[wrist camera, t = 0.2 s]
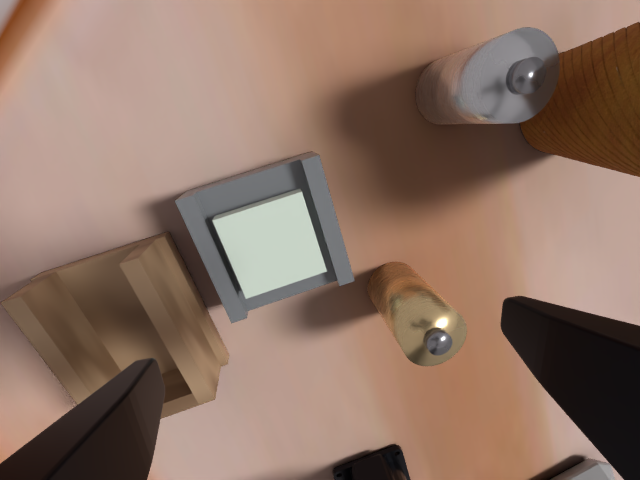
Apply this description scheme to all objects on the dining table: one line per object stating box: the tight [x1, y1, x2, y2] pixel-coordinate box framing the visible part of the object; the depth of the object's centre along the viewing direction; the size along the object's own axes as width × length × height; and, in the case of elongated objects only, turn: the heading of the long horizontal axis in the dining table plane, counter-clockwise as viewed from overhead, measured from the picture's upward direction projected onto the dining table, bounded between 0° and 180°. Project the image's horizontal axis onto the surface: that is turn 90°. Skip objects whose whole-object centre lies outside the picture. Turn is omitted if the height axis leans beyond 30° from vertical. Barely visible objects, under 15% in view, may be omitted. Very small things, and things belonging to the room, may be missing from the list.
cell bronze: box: [368, 262, 467, 366], centre depth 21 cm, size 4×4×7 cm
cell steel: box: [415, 27, 560, 124], centre depth 17 cm, size 4×4×7 cm
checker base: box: [175, 152, 355, 323], centre depth 20 cm, size 8×8×3 cm
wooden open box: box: [1, 232, 229, 419], centre depth 20 cm, size 10×8×4 cm
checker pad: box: [212, 189, 327, 299], centre depth 19 cm, size 5×5×1 cm
